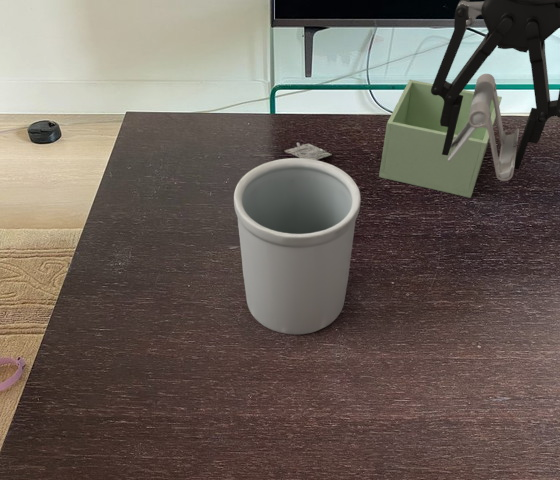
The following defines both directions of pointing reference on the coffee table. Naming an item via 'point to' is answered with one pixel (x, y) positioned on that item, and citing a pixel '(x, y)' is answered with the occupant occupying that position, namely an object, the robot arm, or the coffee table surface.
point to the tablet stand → (489, 128)
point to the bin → (431, 143)
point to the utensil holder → (296, 242)
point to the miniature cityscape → (311, 154)
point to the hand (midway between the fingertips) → (481, 156)
